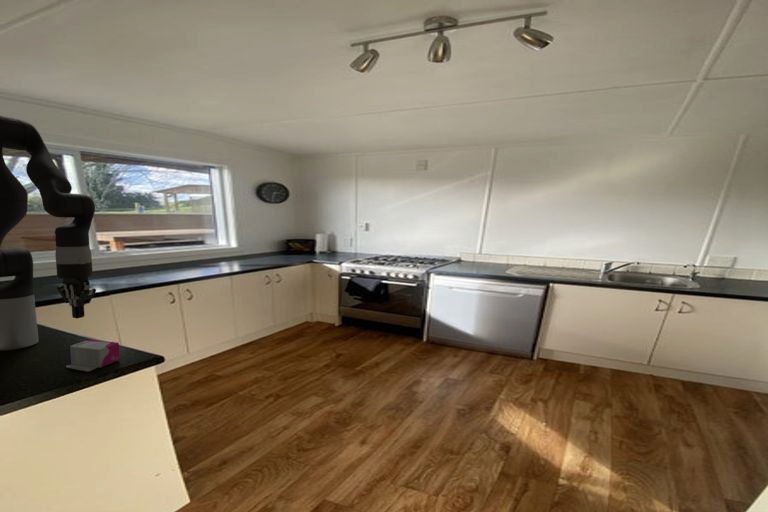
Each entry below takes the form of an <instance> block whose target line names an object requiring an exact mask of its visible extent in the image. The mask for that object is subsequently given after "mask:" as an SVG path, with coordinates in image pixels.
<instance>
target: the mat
mask: <svg viewBox="0 0 768 512" xmlns="http://www.w3.org/2000/svg"><path fill="white" fill-rule="evenodd" d="M65 367H66V368H68V369H73V370H78V371H83V372H87V373H88V372H91V371H93V370H96V369H98V368H100V367H93V366H85V365H76V364H68V365H66V366H65Z"/></svg>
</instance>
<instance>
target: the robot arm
mask: <svg viewBox="0 0 768 512" xmlns="http://www.w3.org/2000/svg"><path fill="white" fill-rule="evenodd" d="M3 149H6V150H7V149H9V150H14V151H23V152H24V151H25V152H27V153H28V154H29V155H30V158H29V160H28V162H27V164H26V167H25V169H26V175H27V176H28V178H29V180H30V181H31V182H32V183H33V185H34V186H35V187H36V189H37V190H38V191H39V194H40V197H41V201H42V207H43V210H44V211H45V212H46V213H47V214H48V215H50V216H52V217H55V218H73V220H72V222H71V223H70V224H65V225H61V226H57V227H56V228H55V230H54V236H55V237H54V238H55V239H54V240H55V265H56V267H55V268H56V276H57V278H58V279H61V280H62V285H59V286H57V287H56V289H57V291H58V293H59V294H60V296H61V297H62V299H63V301H64V302H65V304H69V306H70V307H71V315H72V316H71V317H72V318H73V319H80V318H84V317H85V305H87V304H90V303H91V301H92V299H93V298H94V296H95V295H96V292H97V289H96V288H95V287H94V288H91V286H90V280H89V278H90V277H92V276H93V273H94V272H93V258H92V250H91V246H90V236H89V235H90V234H89V233H90V230H91V226H92V222H93V219H94V215H95V212H96V205H95V202H94V200H93V199H92V197H90V196H89V195H87V194H82V193H71V192H72V190H73V187H72V184H71V182H70V181H69V180H68V179H67V177H66V176H65V175H64V173H62V171H61V169H59V167H58V166H57V165H56V163H55V162H54V159H53V158H52V156H51V153H50V151H49V149H48V148H47V146H46V143H45V142H44V140H43V137H42V136H41V134H40V132H39V130H38V129H37V128H36V127H35V126H34V124H32V123H30V122H28V121H25V120H22V119H18V118H13V117H8V116H5V115H4V116H3V115H0V247H1V246H2V243H3V240H4V239H5V237H6V236H7V235H8V234H9V233H10V232H11V231H12V230H13V228H15V227H16V226H17V225H18V224H19V223H20V222H21V221H22V220H23V219H24V218H25V217H26V215H27V214H28V206H29V205H28V202H29V201H28V200H29V194H28V192H27V190H26V188H25V186H24V185H23V184H22V183H21V181H19V179H18V178H17V177H16V176H15V175H14V174H13V172H12V171H11V170H10V169H9V167H8V166H7V165H8V164H6V161H5V158H4V155H3ZM33 259H34V258H33V256H32V253H31V252H30V250H29V249H27V248H23V247H22V248H20V247H19V248H0V278H9V277H14V278H13V279H12V280H11V281H10V282H8V283H6V284H3V285H1V286H0V351H13V350H18V349H22V348H27V347H31V346H33V345H35V344H38V343H39V341H40V340H39V331H38V321H37V319H38V318H37V312H36V311H37V310H36V303H35V301H36V300H35V292H34V291H35V290H34V287H35V284H34V260H33Z"/></svg>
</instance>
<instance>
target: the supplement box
mask: <svg viewBox="0 0 768 512" xmlns="http://www.w3.org/2000/svg"><path fill="white" fill-rule="evenodd" d="M68 355H69V357H68V358H69V365H71V364H76V365H85V366H93V367H99V368H102V367H105V366H108V365H110V364H113V363H115V362H117V361H119V360H121V358H120V355H121V354H120V343H119V342H118V341H117V342H114V341H106V340H96V339H85V340H83V341H79V342H76V343H74V344H71V345H68Z"/></svg>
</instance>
